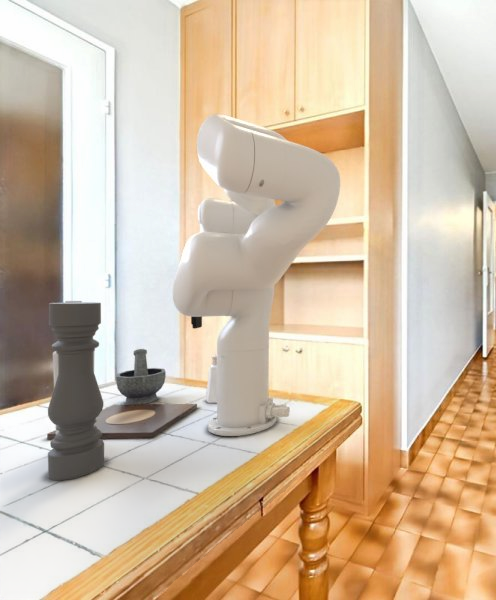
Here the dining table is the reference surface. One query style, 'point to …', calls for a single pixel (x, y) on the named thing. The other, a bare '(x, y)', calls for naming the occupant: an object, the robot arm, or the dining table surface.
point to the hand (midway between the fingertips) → (217, 328)
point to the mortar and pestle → (140, 381)
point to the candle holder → (75, 392)
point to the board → (137, 419)
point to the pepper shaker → (212, 382)
